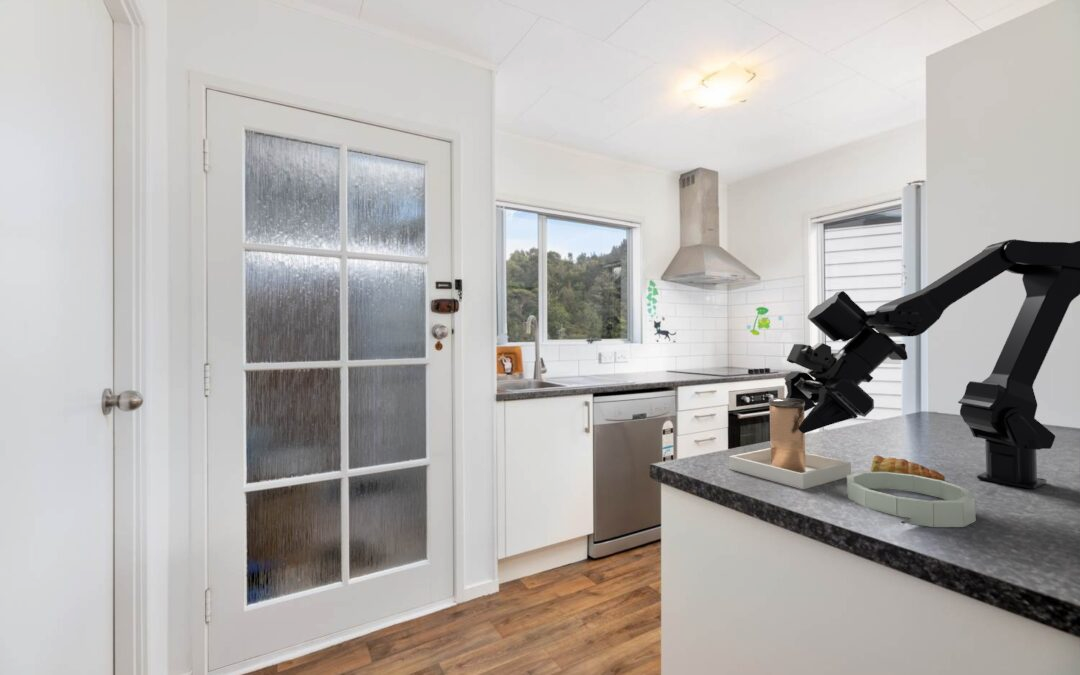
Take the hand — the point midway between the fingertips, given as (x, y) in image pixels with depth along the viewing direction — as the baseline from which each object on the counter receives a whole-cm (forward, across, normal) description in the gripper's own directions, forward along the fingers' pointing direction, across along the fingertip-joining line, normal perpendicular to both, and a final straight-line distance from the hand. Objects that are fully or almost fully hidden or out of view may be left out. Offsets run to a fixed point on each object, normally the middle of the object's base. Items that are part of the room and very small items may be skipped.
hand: (788, 425), depth 78 cm
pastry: (-6, +1, +18) cm, 19 cm away
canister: (+6, 0, +6) cm, 8 cm away
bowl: (-1, +14, +13) cm, 19 cm away
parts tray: (+6, 0, +6) cm, 9 cm away
